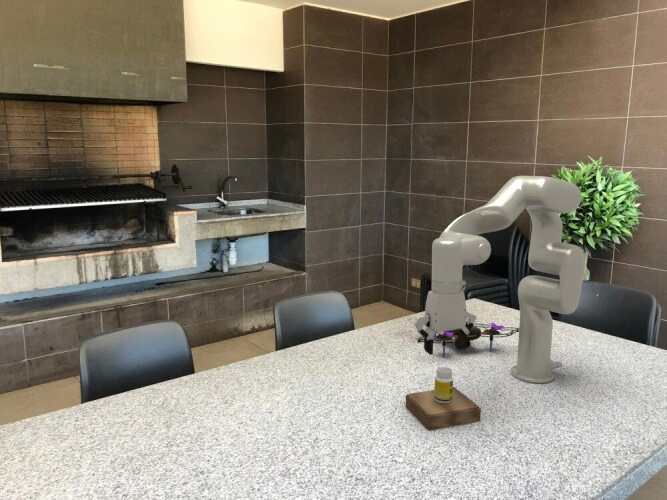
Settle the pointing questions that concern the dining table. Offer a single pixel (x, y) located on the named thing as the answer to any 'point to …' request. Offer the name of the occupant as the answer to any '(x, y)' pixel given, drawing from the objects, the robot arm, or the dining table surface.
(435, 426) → the walnut stand
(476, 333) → the drone
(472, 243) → the robot arm
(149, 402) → the dining table surface
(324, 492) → the dining table surface
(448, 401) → the supplement bottle
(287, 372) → the dining table surface
